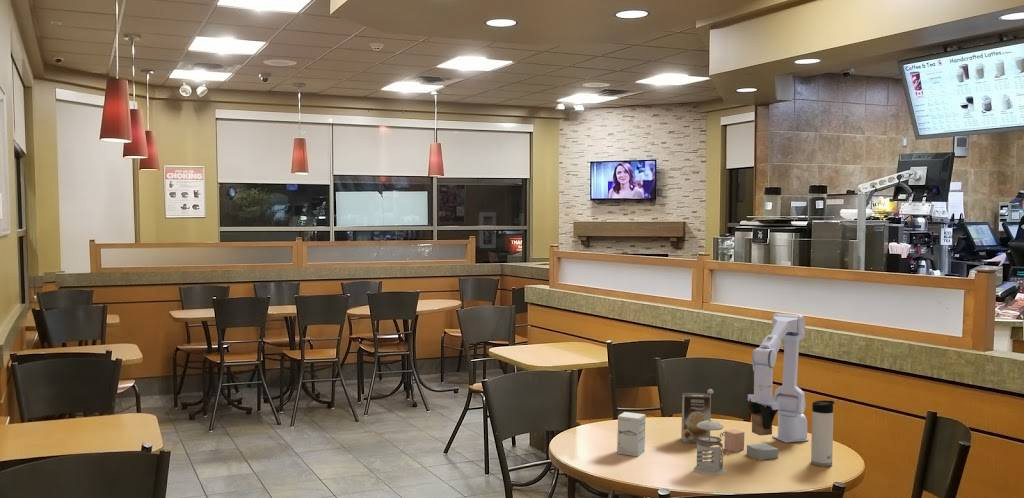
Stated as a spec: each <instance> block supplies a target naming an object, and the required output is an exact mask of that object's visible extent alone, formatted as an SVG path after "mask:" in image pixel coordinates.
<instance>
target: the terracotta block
mask: <svg viewBox="0 0 1024 498" xmlns="http://www.w3.org/2000/svg"><path fill="white" fill-rule="evenodd" d="M724 432H725V433H726V434H727V435H728V436H729V437H730V439H731V442H730V439H729V437H728V436H727V435H726V434H725V433H724V435H725V436H726V437H727V439H728V441H729V451H730V448H731V451H730V452H739V451H744V450H745V431H742V430H739V429H735V428H733V429H727V430H724ZM725 436H724V443H723V444H724V445H723V449H724V450H727V451H728V441H727V439H726V437H725ZM731 443H732V445H731Z"/></svg>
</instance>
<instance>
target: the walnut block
mask: <svg viewBox="0 0 1024 498" xmlns="http://www.w3.org/2000/svg"><path fill="white" fill-rule="evenodd" d="M751 433H753V434H755V435H757V436H762V437H763V436H769V435H772V434H773V425H772V426H771V429H766V430H765V429H764V427H763V417H762V413H757V414H752V413H751ZM772 436H773V435H772Z"/></svg>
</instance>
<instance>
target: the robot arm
mask: <svg viewBox="0 0 1024 498" xmlns="http://www.w3.org/2000/svg"><path fill="white" fill-rule="evenodd" d="M771 326H772V330H771V333H770V334H768V335H766V336H765V337H764V339H763V340H762V342H761V343H760V344H759V347H756V348H755V349H753V350H752V353H751V365H752V371H753V394H751V393H750V394H747V401H748V402H750V403H747V406H748V408H749V410H750V412H751V413H750V414H751V415H752V414H757V413H762V417H763V427H764V429H765V430H766V429H771V426H772V427H773V421H774V419H775V416H776V415H777V435H772V438H774V439H777V440H778V441H781V442H784V443H786V444H787V443H796V442H806V441H807V442H808V441H809V438H808V420H807V416H806V415H805V414H804V412H805V410H806V395H805V392H804V391H803V390H802V389H801V388H800V387H798V372H799V369H798V368H799V367H798V366H799V354H800V353H799V352H800V342H801V340H802V339H804V338H805V335H806V319H805V317H804V315H803V314H790V313H789V314H788V313H779V312H775V314H774V315H773V316H772V320H771ZM782 339H783V340H784V348H783V349H784V351H783V364H782V365H783V368H782V385H780V386H779V387H777V388H776V389H775V391H774V396H773V388H774V387H773V384H774V383H773V380H774V379H773V378H774V373H773V372H774V367H775V366H776V361H777V358H778V357H777V354H778V352H779V350H780V349H781V347H782Z"/></svg>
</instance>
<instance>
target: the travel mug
mask: <svg viewBox="0 0 1024 498" xmlns="http://www.w3.org/2000/svg"><path fill="white" fill-rule="evenodd" d="M811 405H812V408H811V411H812V413H811V446H810V448H811V453H810V457H811V458H810V462H811V464H812V465H813V466H817V467H823V466H824V467H826V466H827V467H830V466H832V465H833V453H834V452H833V447H834V446H833V444H834V443H833V442H834V440H833V439H834V438H833V437H834V405H835V401H834V400H817V401H816V400H815V401H813V402H812V403H811Z"/></svg>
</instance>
